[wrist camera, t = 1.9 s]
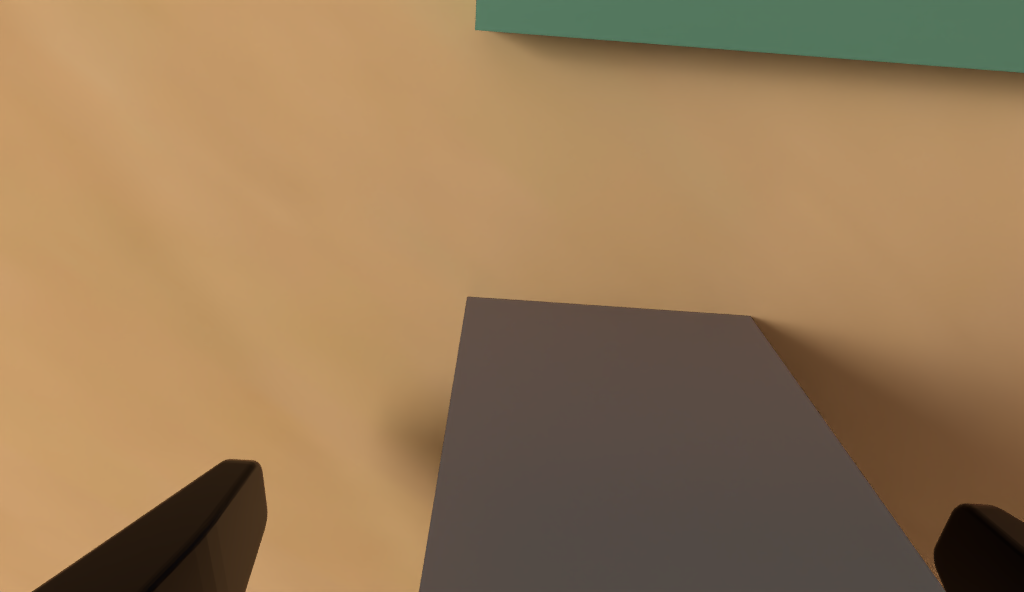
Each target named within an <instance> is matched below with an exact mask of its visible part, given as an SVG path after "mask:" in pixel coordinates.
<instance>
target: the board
mask: <svg viewBox="0 0 1024 592" xmlns="http://www.w3.org/2000/svg"><path fill="white" fill-rule="evenodd" d="M475 30H482V31H494V32H507V33H520V34H533V35H546V36H559V37H571V38H584V39H597V40H610V41H623V42H635V43H648V44H661V45H674V46H687V47H700V48H712V49H725V50H738V51H751V52H764V53H776V54H789V55H802V56H815V57H828V58H841V59H853V60H866V61H879V62H892V63H905V64H917V65H930V66H943V67H956V68H969V69H982V70H994V71H1007V72H1020V73H1024V0H476V23H475Z"/></svg>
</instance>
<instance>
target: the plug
mask: <svg viewBox="0 0 1024 592" xmlns="http://www.w3.org/2000/svg"><path fill="white" fill-rule="evenodd" d="M419 592H946V591H945V590H944V588H943V587H942V586H941V584H940V583H939V581H938V580H937V579H936V577H935V576H934V574H933V573H932V572H931V570H930V569H929V567H928V566H927V565H926V563H925V562H924V560H923V559H922V557H921V556H920V555H919V553H918V552H917V550H916V549H915V548H914V546H913V545H912V543H911V542H910V541H909V539H908V538H907V536H906V535H905V533H904V532H903V531H902V529H901V528H900V526H899V525H898V524H897V522H896V521H895V519H894V518H893V517H892V515H891V514H890V512H889V511H888V510H887V508H886V507H885V505H884V504H883V502H882V501H881V500H880V498H879V497H878V495H877V494H876V493H875V491H874V490H873V488H872V487H871V486H870V484H869V483H868V481H867V480H866V479H865V477H864V476H863V474H862V473H861V471H860V470H859V469H858V467H857V466H856V464H855V463H854V462H853V460H852V459H851V457H850V456H849V455H848V453H847V452H846V450H845V449H844V447H843V446H842V445H841V443H840V442H839V440H838V439H837V438H836V436H835V435H834V433H833V432H832V431H831V429H830V428H829V426H828V425H827V424H826V422H825V421H824V419H823V418H822V416H821V415H820V414H819V412H818V411H817V409H816V408H815V407H814V405H813V404H812V402H811V401H810V400H809V398H808V397H807V395H806V394H805V393H804V391H803V390H802V388H801V387H800V385H799V384H798V383H797V381H796V380H795V378H794V377H793V376H792V374H791V373H790V371H789V370H788V369H787V367H786V366H785V364H784V363H783V361H782V360H781V359H780V357H779V356H778V354H777V353H776V352H775V350H774V349H773V347H772V346H771V345H770V343H769V342H768V340H767V339H766V338H765V336H764V335H763V333H762V332H761V330H760V329H759V328H758V326H757V325H756V323H755V322H754V321H753V319H752V318H751V316H744V315H729V314H714V313H700V312H685V311H670V310H656V309H641V308H626V307H611V306H597V305H582V304H567V303H553V302H538V301H523V300H509V299H494V298H479V297H467V301H466V307H465V314H464V320H463V326H462V332H461V338H460V344H459V350H458V356H457V363H456V369H455V375H454V381H453V387H452V393H451V399H450V405H449V412H448V418H447V424H446V430H445V436H444V442H443V448H442V454H441V461H440V467H439V473H438V479H437V485H436V491H435V497H434V504H433V510H432V516H431V522H430V528H429V534H428V540H427V546H426V553H425V559H424V565H423V571H422V577H421V583H420V589H419Z"/></svg>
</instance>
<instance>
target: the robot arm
mask: <svg viewBox="0 0 1024 592" xmlns="http://www.w3.org/2000/svg"><path fill="white" fill-rule="evenodd" d="M266 521H267V503H266V495H265V487H264V480H263V472H262V468H261V466H260V464H259V463H258V462H256V461H254V460H237V459H228V460H225V461H223V462H221V463H219V464H218V465H216V466H215V467H213V468H212V469H210V470H209V471H207V472H206V473H205V474H203V475H202V476H200V477H199V478H197V479H196V480H194V481H193V482H191V483H190V484H188V485H187V486H186V487H184V488H183V489H181V490H180V491H178V492H177V493H175V494H174V495H172V496H171V497H169V498H168V499H167V500H165V501H164V502H162V503H161V504H159V505H158V506H156V507H155V508H153V509H152V510H150V511H149V512H148V513H146V514H145V515H143V516H142V517H140V518H139V519H137V520H136V521H134V522H133V523H131V524H130V525H129V526H127V527H126V528H124V529H123V530H121V531H120V532H118V533H117V534H115V535H114V536H113V537H111V538H110V539H108V540H107V541H105V542H104V543H102V544H101V545H99V546H98V547H96V548H95V549H94V550H92V551H91V552H89V553H88V554H86V555H85V556H83V557H82V558H80V559H79V560H77V561H76V562H75V563H73V564H72V565H70V566H69V567H67V568H66V569H64V570H63V571H61V572H60V573H58V574H57V575H56V576H54V577H53V578H51V579H50V580H48V581H47V582H45V583H44V584H42V585H41V586H39V587H38V588H37V589H35V590H34V591H32V592H245V591H246V588H247V585H248V581H249V578H250V575H251V572H252V569H253V565H254V562H255V559H256V556H257V553H258V549H259V546H260V543H261V540H262V537H263V533H264V530H265V526H266ZM934 563H935V567H936V570H937V572H938V575H939V577H940V579H941V582H942V584H943V586H944V589H945V591H946V592H1024V522H1022V521H1020V520H1019V519H1017V518H1015V517H1014V516H1012V515H1010V514H1009V513H1007V512H1005V511H1003V510H1002V509H1000V508H998V507H995V506H992V505H983V504H960V505H959V506H957V507H956V508H954V510H953V511H952V513H951V515H950V517H949V519H948V521H947V523H946V525H945V527H944V529H943V531H942V533H941V535H940V537H939V539H938V541H937V543H936V546H935V548H934Z"/></svg>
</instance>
